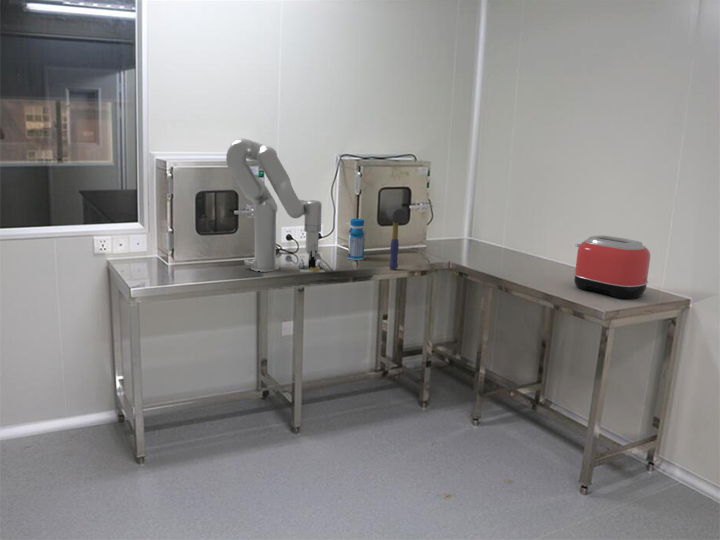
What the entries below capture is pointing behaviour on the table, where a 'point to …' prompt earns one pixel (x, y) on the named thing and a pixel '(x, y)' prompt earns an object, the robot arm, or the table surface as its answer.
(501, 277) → the table surface
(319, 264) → the spacer rows
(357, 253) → the beverage bottle
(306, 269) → the spacer board
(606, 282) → the toaster
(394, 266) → the rubber mallet
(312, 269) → the brass nut
